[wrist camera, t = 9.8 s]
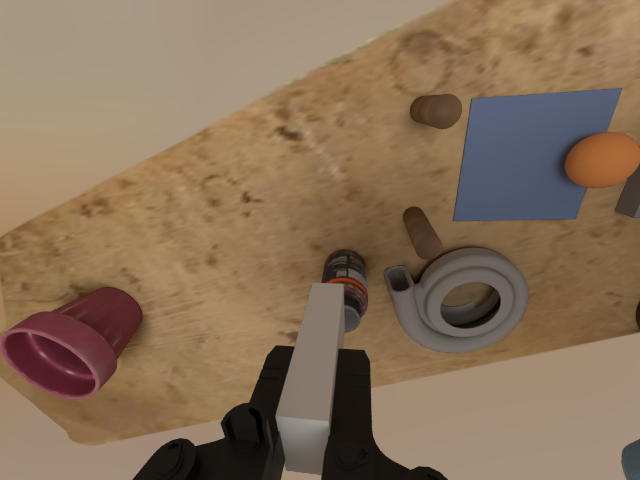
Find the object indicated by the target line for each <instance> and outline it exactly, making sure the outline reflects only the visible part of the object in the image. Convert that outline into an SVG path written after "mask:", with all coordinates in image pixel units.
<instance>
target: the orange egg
mask: <svg viewBox="0 0 640 480" xmlns="http://www.w3.org/2000/svg"><path fill="white" fill-rule="evenodd" d="M639 164H640V147H639V145H638V143H637V142H636V141H635V140H634V139H632V138H631V137H629V136H627V135H625V134H621V133H615V132H605V133H599V134H595V135H592V136H589V137H587V138H585V139H583V140H582V141H580V142H579V143H577V144H576V145H575V146H574V147H573V148H572V149H571V150H570V152H569V153H568V155H567V157H566V160H565V171H566V173H567V175H568V177H569V178H570V179H571V180H572V181H573V182H574V183H576V184H578V185H580V186H583V187H587V188H605V187H609V186H613V185H616V184H618V183H620V182H622V181H624V180H625V179H627V178H628V177H629V176H630V175H632V174H633V173H634V171H635V170H636V169H637V167H638V166H639Z"/></svg>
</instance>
